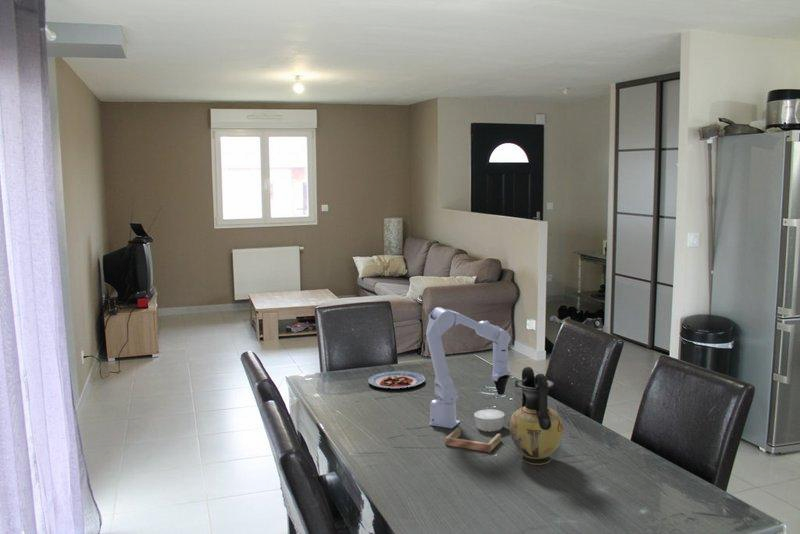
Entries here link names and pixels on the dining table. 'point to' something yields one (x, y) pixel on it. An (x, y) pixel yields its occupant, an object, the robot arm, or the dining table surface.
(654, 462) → the dining table surface
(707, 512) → the dining table surface
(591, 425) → the dining table surface
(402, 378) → the ceramic plate
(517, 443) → the amphora
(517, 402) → the coffee box
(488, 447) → the dock
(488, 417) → the ramekin
